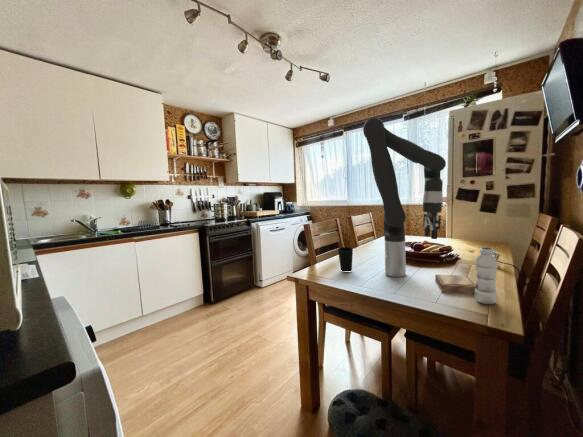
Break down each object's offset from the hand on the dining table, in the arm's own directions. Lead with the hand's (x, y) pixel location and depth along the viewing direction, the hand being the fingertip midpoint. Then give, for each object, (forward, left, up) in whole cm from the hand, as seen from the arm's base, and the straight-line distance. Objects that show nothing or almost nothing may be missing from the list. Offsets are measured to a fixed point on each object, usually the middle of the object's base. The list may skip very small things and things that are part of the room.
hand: (430, 237), depth 114 cm
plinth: (+7, -10, -19) cm, 23 cm away
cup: (-39, +5, -19) cm, 44 cm away
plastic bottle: (+13, -23, -19) cm, 33 cm away
